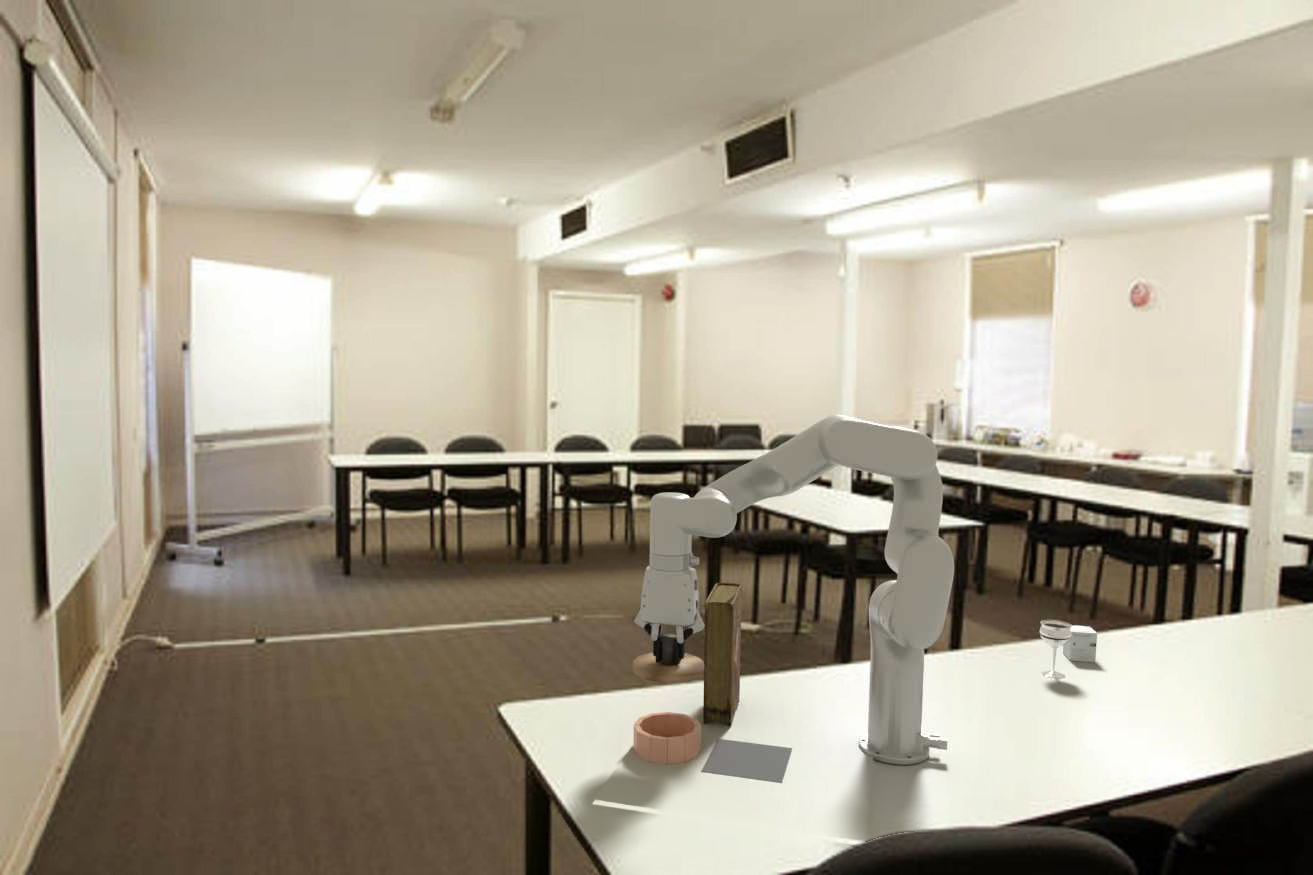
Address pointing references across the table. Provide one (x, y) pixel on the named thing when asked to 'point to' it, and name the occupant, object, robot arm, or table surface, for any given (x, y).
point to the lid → (668, 664)
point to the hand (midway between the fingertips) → (668, 660)
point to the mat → (748, 760)
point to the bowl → (667, 737)
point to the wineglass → (1055, 640)
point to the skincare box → (1081, 644)
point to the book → (722, 653)
